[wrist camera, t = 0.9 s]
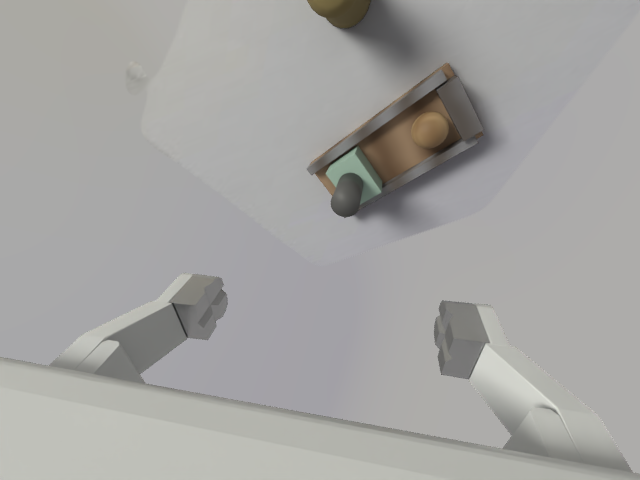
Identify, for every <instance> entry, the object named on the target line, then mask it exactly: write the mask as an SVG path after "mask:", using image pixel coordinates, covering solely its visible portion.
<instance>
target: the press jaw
mask: <svg viewBox="0 0 640 480" xmlns="http://www.w3.org/2000/svg"><path fill="white" fill-rule="evenodd" d="M326 175H327V176H328V178H329V179H330V180H331V182H332V183H333V184H334V186H335V187H336V189H335V191H334V194H333V197H332V199H331V207H332V209H333V211H334V212H335V213H336V214H337V215H339V216H342V217H350V216H352V215H354V214H355V213H357V211H358V210H359V206H360V204H362V203H364V202H366V201H367V200H369V199H371V198H373V197H374V196H376V195H378V194H380V193H381V192H382V180H381V178H380V177H379V176H378V174H377V173H376V171H375V170H374V168H373V167H372V165H371V164H370V162H369V161H368V159H367V158H366V156H365V155H364V153H363V152H362V150H361V149H360V147H359V146H358V145H357V146H356V147H354V148H353V149H351V150H350V151H349V152H347V153H346V154H344V155H343V156H341V157H340V158H339V159H337V160H336V161H334V162H333V163H331V164H330V166H329V168H328V170H327V172H326Z"/></svg>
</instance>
